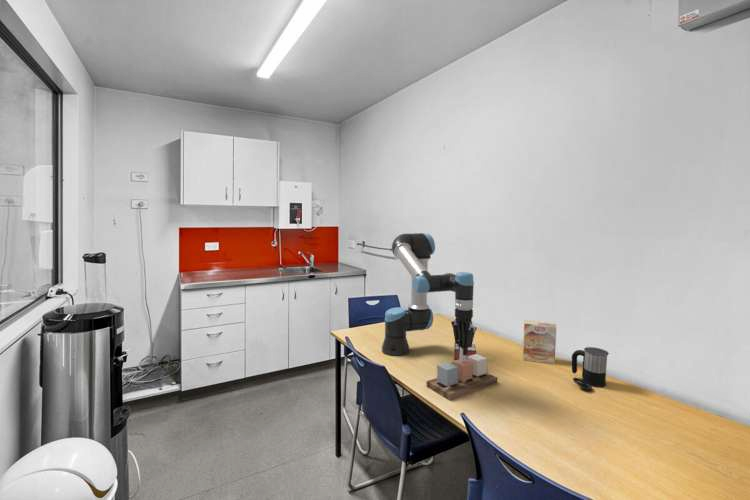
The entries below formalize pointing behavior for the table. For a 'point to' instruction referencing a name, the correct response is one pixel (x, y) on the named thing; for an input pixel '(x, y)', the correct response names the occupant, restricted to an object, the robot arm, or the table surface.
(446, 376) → the slate block
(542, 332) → the coffeecake box
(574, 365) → the milk frother
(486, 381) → the button board
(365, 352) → the table surface
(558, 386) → the table surface
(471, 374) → the terracotta block
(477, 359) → the cream block
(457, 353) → the puzzle cube
